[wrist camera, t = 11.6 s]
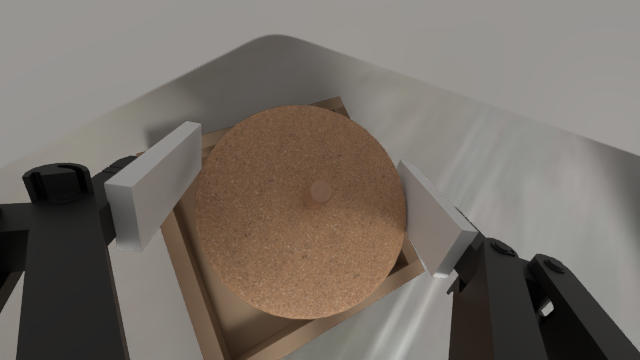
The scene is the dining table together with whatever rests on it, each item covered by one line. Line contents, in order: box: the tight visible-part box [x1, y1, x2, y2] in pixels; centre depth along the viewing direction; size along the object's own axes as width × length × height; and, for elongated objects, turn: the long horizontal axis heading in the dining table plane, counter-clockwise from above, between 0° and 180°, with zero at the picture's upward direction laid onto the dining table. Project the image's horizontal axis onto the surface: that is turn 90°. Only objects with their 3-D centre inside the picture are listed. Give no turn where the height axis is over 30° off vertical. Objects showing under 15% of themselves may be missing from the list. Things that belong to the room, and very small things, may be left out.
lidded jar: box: [194, 105, 406, 319], centre depth 15 cm, size 11×11×9 cm
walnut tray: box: [136, 97, 425, 360], centre depth 19 cm, size 16×16×2 cm
